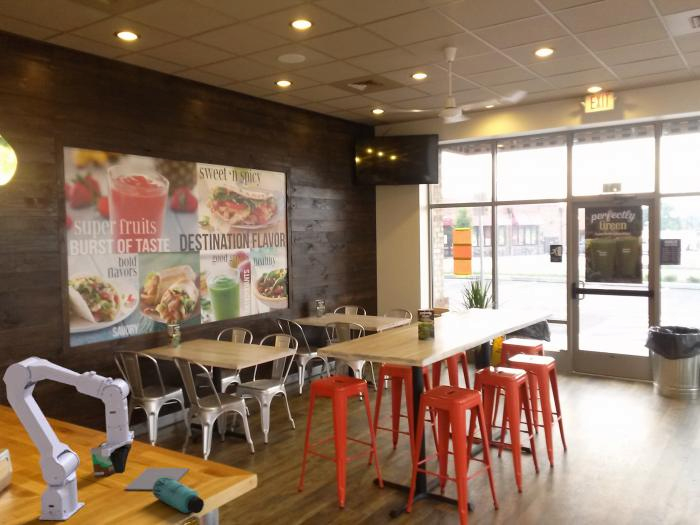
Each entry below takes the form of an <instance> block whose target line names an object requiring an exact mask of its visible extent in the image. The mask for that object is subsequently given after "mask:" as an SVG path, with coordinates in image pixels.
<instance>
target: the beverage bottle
mask: <svg viewBox="0 0 700 525" xmlns="http://www.w3.org/2000/svg"><path fill="white" fill-rule="evenodd" d="M152 493H153V496H154V498H156V499H157V500H159V501H161V502H162V503H164V504H167V505H168V506H170V507H172V508H174V509H176V510H178V511H180V512H181V513H184V514H188V513H193V514H199V513H201V511H203V508H204V506H205V501H204V500H203V499H202V498H201V497H199V496H200V495H199V493H198V492H197V490H195V489H193V488H190V487H188V486H187V485H186V484H183V483H182V482H180V481H178V482H177V481H175V480H173V479H171V478H170V477H165V476H164V477H161V478H159V479H158V480H157V481H156V482H155V483H154V486H153V491H152Z"/></svg>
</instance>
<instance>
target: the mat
mask: <svg viewBox="0 0 700 525" xmlns="http://www.w3.org/2000/svg"><path fill="white" fill-rule="evenodd" d="M189 471H190V468H189V467H187V468H185V467H184V468H180V467H178V468H177V467H147V468H146V469H145V470H143V471H142V473H141V472H140V474H139V475H138V476H137V477H136V478H135V479H134V480H132V482H130V483H129V484H128V485H127V486H126V487H125V488H124V491H140V490H153V486H154V483H155V482H156V481H157V480H158V479H159V478H161V477H164V476H165V477H170V478H171V479H173V480H175V481H177V482H180V480H181V479H182V478H183V477H184V476H185V475H186V474H187V473H188V472H189ZM186 472H187V473H186Z"/></svg>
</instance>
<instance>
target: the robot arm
mask: <svg viewBox="0 0 700 525" xmlns="http://www.w3.org/2000/svg"><path fill="white" fill-rule="evenodd" d="M45 379H47V380H51V381H56V382H58V383H63V384H67V385H70V386H75V388H76V390H77V392H78V393H81V394H84V395H89V396H90V397H94V398H97V399H100V400H101V401H102V402H103V403H104V407H105V410H104V411H105V424H106V425H105V427H106V441H107V442H106V441H105V442H106V444H105V446H104V448H103V449H102V450H101V451H102V457H109V458H110V460H111V462H112V464H113V467H114V470H115V474H123V473H124V472H125V471H126V466H127V461H128V456H129V454H130V451H131V449H132V443H133V442H134V438H135V432H134V431H133V430H130V429H129V413H128V412H129V410H128V409H129V408H128V399H127V396H128V395H129V393H130V385H129V384H128V383H127V381H125V380H123V379H122V378H115V379H113V378H112V377H104V376H102V375H98V374H97V372H96V371H93V370H91V371H85V372H83V373H82V374H80V373H78V372H75V371H73V370H71V369H68V368H65V367H62V366H60V365H57V364H55V363H52V362H50V361H48V359H44V358H40V357H37V356H31V357H28V358H26V359H24V360H22V361H20V362H17V363H13V364H11V365H10V366H8V367H7V368H6V371H5V373H4V375H3V378H2V380H3V381H4V384H5V386H6V388H5V389H6V397H7V400H8V403H9V404H10V406H11V408H12V409H13V411H14V413H15V415H16V416H17V418H18V419H19V422H20V423H21V425H22V426H23V428H24V429H25V430H26V431H25V432H27V434H28V436H29V437H30V439H31V441H32V443H33V444H34V446H35V448H36V449H37V450H38V452H39V454H40V457H39V462H38V464H39V467H40V468H41V474H42V479H43V480H44V481H45V483H46V488H45V489H44V491H43V492H42V494H41V495H40V507H41V508H40V509H41V515H40V516H39V517H38V519H39V520H41V521H43V520H45V521H48V520H49V521H66V520H68V519H69V518H71V517H72V516H73V515H74V514H75V513H76V512H78V511H79V510H80V509H81V508H82V507H83V506H85V502H78V501H79V500H78V485H77V483H78V482H77V472H76V470H77V469H78V467H79V466H80V457H79V456H78V454H77V453H76V452H74V451H73V450H72V449H71V448H70V447H69V445H68V444H65V443H63V442H61V441H60V440H59V439H58V437H57V435H56V432H54V430H53V428H52V427H51V425H50V423H49V421H48V420H47V418H46V417H45V415H44V413H43V411H42V410H41V408H40V407H39V405H38V403H37V402H36V401H35V399H34V397H33V395H32V394H33V391H34V389H35V385H36V384H37V382H39V381H42V380H43V381H44V380H45Z"/></svg>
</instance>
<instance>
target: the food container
mask: <svg viewBox="0 0 700 525" xmlns="http://www.w3.org/2000/svg"><path fill="white" fill-rule="evenodd" d="M106 442H107V440H105V441H104V442H102V443H100V444H99V445H98V446H96V447H93V446H92V447H90V451H89V452H90V453H89V455H91V460H92V467H93V475H94V476H93V477H94V478H104V477H109V476H113V475H115V474H116V473H115V470H114V467H113V464H112V462H111V460H110V458H109V457H102V451H101V450H102V449H103V448H104V446H105V444H106Z"/></svg>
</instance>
